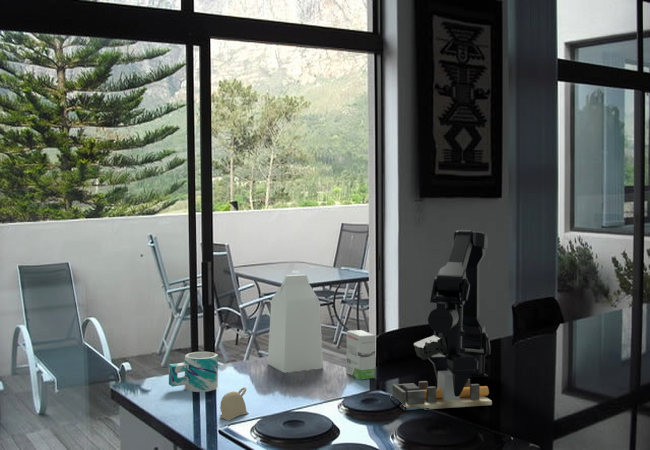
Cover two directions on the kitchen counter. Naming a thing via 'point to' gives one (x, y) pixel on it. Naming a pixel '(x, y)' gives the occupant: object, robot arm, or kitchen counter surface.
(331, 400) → the kitchen counter surface
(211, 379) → the mug
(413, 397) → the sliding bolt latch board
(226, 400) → the decorative ornament
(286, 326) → the milk
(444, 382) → the toy hammer
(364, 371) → the ink box
